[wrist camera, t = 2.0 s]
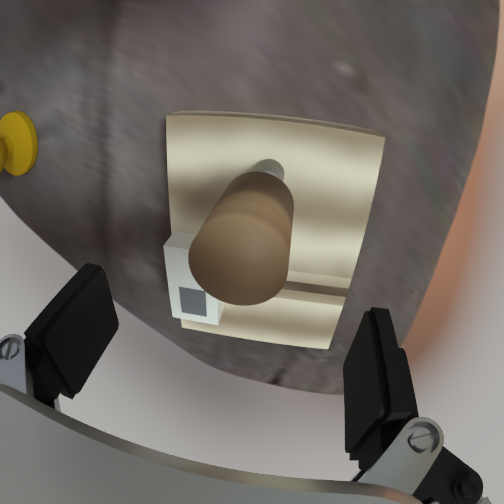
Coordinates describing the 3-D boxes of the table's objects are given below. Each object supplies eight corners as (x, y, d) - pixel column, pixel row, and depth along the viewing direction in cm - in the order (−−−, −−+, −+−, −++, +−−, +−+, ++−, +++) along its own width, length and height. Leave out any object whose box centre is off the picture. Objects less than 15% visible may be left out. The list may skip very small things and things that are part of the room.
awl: (243, 144, 21) (185, 215, 11) (299, 150, 21) (294, 229, 11) (241, 194, 23) (191, 297, 13) (293, 201, 23) (281, 311, 13)
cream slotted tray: (180, 110, 23) (166, 115, 21) (376, 130, 22) (385, 137, 19) (189, 309, 35) (181, 327, 33) (327, 329, 34) (327, 349, 31)
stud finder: (174, 231, 26) (162, 246, 24) (224, 237, 26) (216, 254, 24) (180, 300, 30) (172, 317, 28) (223, 308, 30) (217, 326, 28)
